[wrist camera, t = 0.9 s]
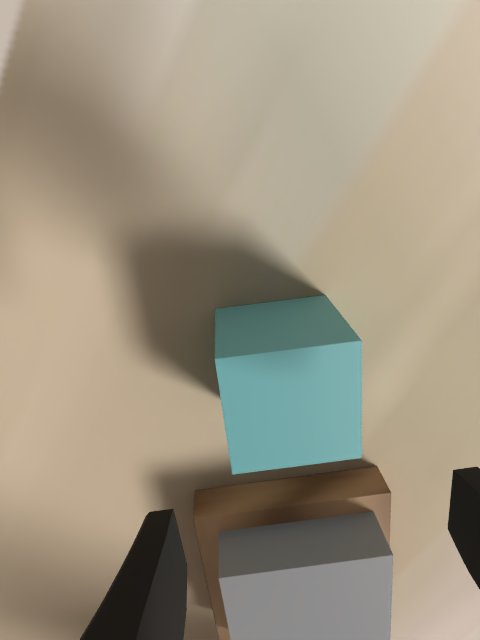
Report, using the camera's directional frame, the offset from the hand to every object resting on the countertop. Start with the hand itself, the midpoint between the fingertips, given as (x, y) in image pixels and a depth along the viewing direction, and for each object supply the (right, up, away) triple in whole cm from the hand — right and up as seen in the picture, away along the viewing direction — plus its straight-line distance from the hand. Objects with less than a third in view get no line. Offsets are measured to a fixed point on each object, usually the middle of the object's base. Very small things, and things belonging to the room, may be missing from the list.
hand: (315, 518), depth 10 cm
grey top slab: (+1, -9, +12) cm, 15 cm away
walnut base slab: (+1, -8, +14) cm, 16 cm away
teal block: (0, +4, +9) cm, 10 cm away
